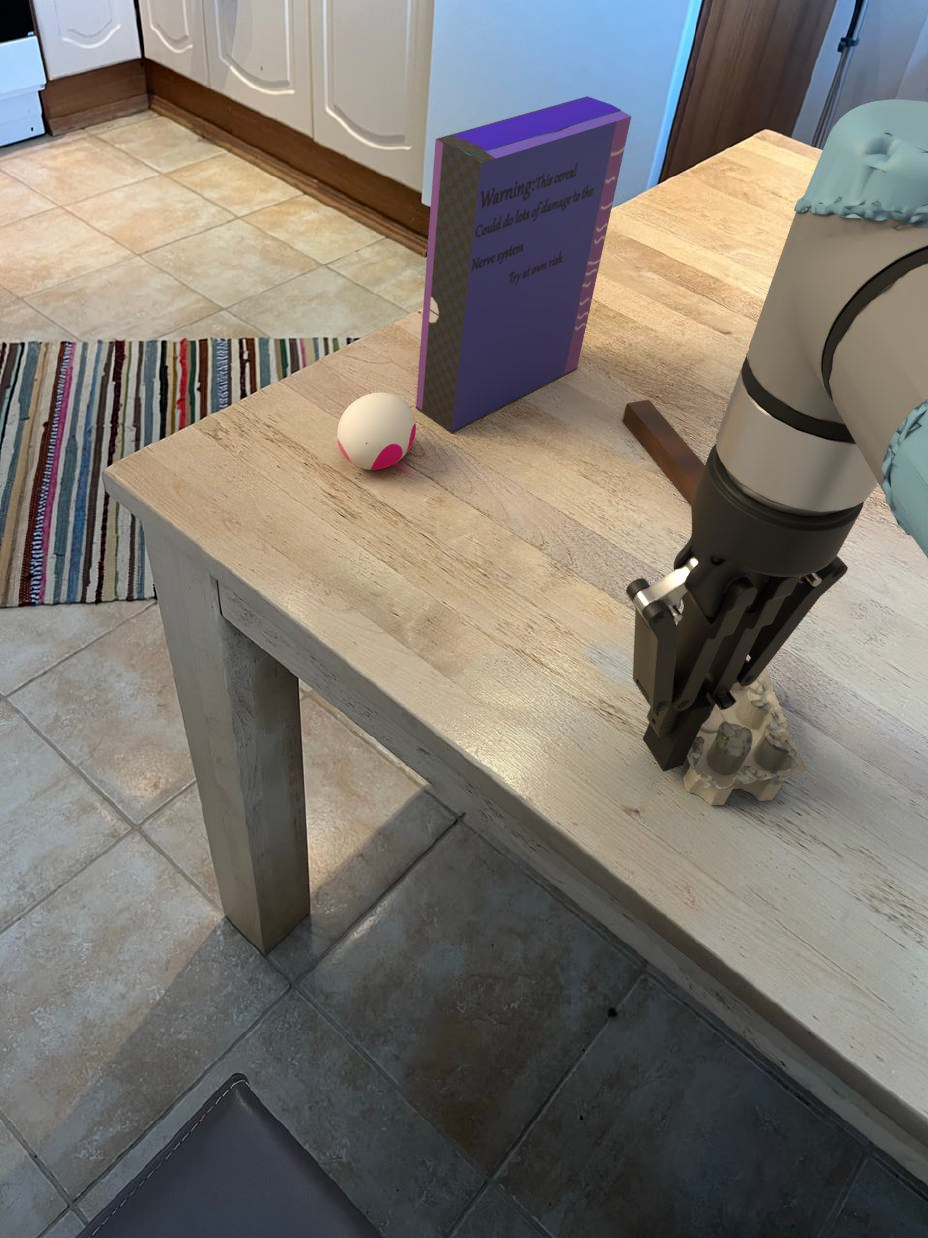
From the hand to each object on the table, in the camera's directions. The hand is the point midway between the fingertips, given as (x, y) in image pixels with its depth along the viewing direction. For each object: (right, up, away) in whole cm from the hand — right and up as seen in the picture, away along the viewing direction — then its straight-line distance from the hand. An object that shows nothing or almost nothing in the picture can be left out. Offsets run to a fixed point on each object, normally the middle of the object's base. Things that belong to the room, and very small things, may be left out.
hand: (662, 752), depth 62 cm
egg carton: (+4, 0, +3) cm, 5 cm away
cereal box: (-10, +31, +29) cm, 43 cm away
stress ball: (-20, +22, +20) cm, 36 cm away
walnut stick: (+7, +21, +22) cm, 31 cm away
